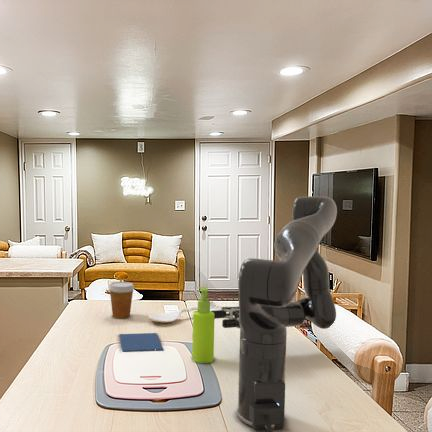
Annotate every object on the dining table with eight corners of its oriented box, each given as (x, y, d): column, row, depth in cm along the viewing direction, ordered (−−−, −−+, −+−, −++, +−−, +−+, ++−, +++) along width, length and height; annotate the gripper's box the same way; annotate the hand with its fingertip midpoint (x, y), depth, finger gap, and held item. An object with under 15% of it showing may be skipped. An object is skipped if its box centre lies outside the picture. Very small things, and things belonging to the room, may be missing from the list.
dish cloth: (163, 350, 127) (163, 348, 127) (122, 351, 125) (122, 350, 125) (156, 334, 141) (156, 333, 141) (119, 335, 139) (119, 334, 139)
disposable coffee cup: (104, 314, 163) (104, 282, 162) (128, 311, 167) (128, 280, 166) (113, 321, 154) (114, 288, 153) (138, 318, 158) (138, 285, 157)
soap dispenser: (210, 353, 125) (212, 285, 123) (215, 363, 118) (216, 291, 116) (190, 353, 124) (191, 285, 123) (194, 363, 117) (195, 291, 116)
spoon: (227, 314, 164) (228, 305, 163) (157, 327, 147) (157, 317, 147) (212, 308, 171) (212, 300, 171) (143, 320, 155) (143, 311, 154)
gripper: (256, 297, 132) (207, 299, 128) (282, 309, 118) (227, 313, 114) (256, 321, 132) (206, 324, 128) (281, 336, 118) (227, 340, 115)
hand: (216, 319), depth 121 cm, fingers open, 8 cm apart
